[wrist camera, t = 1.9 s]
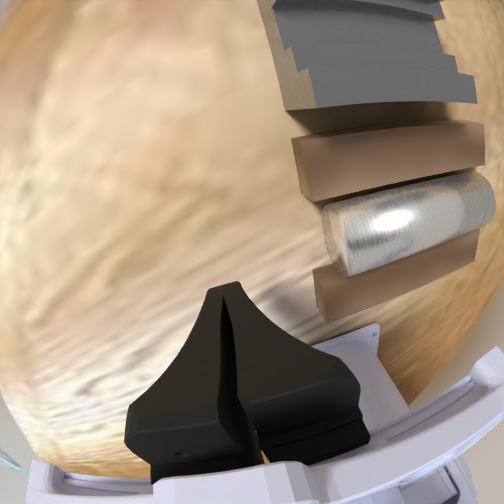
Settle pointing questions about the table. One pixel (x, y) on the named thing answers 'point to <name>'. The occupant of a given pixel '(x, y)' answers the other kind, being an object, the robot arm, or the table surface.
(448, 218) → the axle
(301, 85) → the v block
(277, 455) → the robot arm
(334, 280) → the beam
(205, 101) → the table surface
